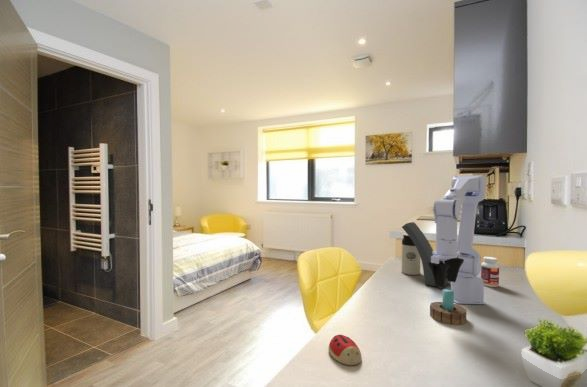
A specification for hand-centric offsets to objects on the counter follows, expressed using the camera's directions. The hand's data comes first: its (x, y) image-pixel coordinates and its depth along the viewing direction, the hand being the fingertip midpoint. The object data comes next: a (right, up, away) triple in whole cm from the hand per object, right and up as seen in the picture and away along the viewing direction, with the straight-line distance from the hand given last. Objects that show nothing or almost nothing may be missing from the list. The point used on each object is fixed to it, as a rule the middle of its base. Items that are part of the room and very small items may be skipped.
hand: (445, 283), depth 92 cm
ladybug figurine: (-34, -10, -22) cm, 42 cm away
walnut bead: (0, -10, -1) cm, 10 cm away
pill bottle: (+33, -10, +31) cm, 46 cm away
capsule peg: (0, -10, -1) cm, 10 cm away
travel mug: (+8, -10, +48) cm, 49 cm away
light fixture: (+8, -10, +34) cm, 36 cm away
